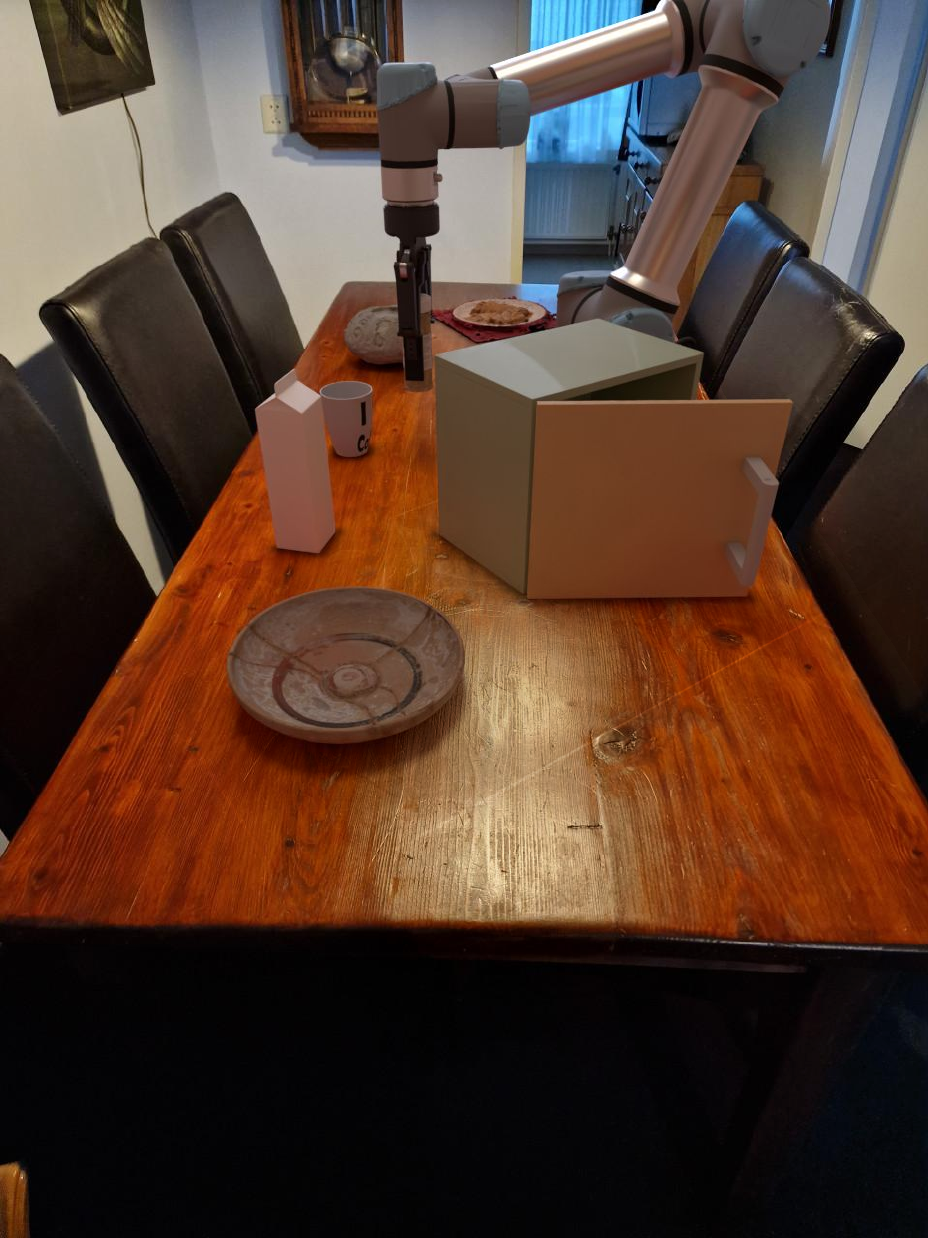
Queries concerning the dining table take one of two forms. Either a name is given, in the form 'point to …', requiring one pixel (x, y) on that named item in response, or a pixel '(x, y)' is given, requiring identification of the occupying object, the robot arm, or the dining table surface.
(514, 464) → the cabinet
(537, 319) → the plate with food
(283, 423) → the milk
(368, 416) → the cup
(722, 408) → the door
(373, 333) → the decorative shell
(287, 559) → the dining table surface
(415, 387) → the sprinkles bottle
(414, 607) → the ceramic bowl
